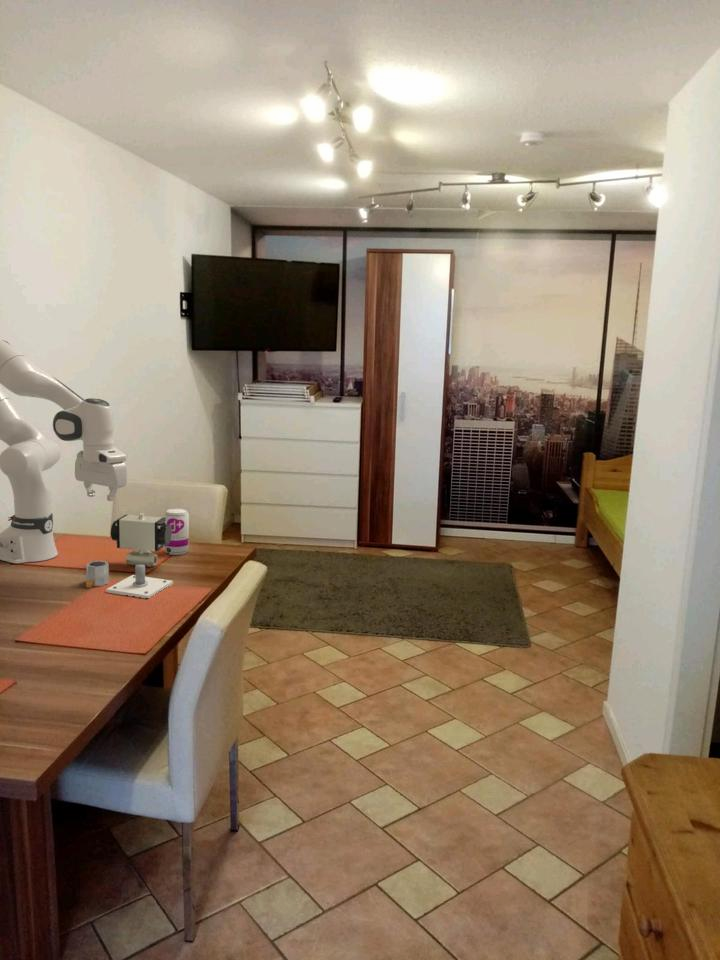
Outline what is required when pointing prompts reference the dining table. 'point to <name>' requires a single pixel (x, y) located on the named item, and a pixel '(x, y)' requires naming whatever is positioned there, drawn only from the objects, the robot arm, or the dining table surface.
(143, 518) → the ball valve
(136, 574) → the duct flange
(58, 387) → the robot arm
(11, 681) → the dining table surface
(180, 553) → the supplement can
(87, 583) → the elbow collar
